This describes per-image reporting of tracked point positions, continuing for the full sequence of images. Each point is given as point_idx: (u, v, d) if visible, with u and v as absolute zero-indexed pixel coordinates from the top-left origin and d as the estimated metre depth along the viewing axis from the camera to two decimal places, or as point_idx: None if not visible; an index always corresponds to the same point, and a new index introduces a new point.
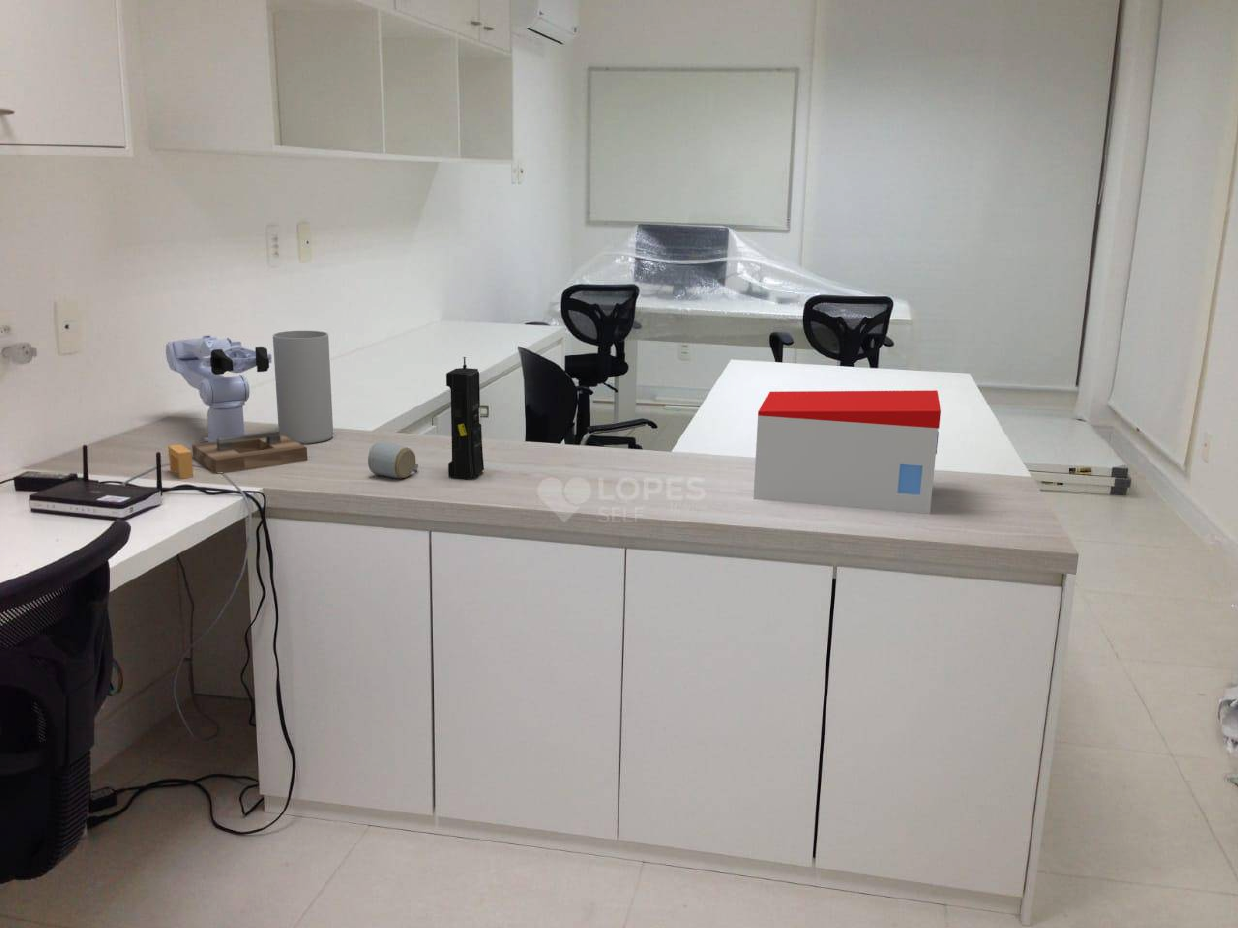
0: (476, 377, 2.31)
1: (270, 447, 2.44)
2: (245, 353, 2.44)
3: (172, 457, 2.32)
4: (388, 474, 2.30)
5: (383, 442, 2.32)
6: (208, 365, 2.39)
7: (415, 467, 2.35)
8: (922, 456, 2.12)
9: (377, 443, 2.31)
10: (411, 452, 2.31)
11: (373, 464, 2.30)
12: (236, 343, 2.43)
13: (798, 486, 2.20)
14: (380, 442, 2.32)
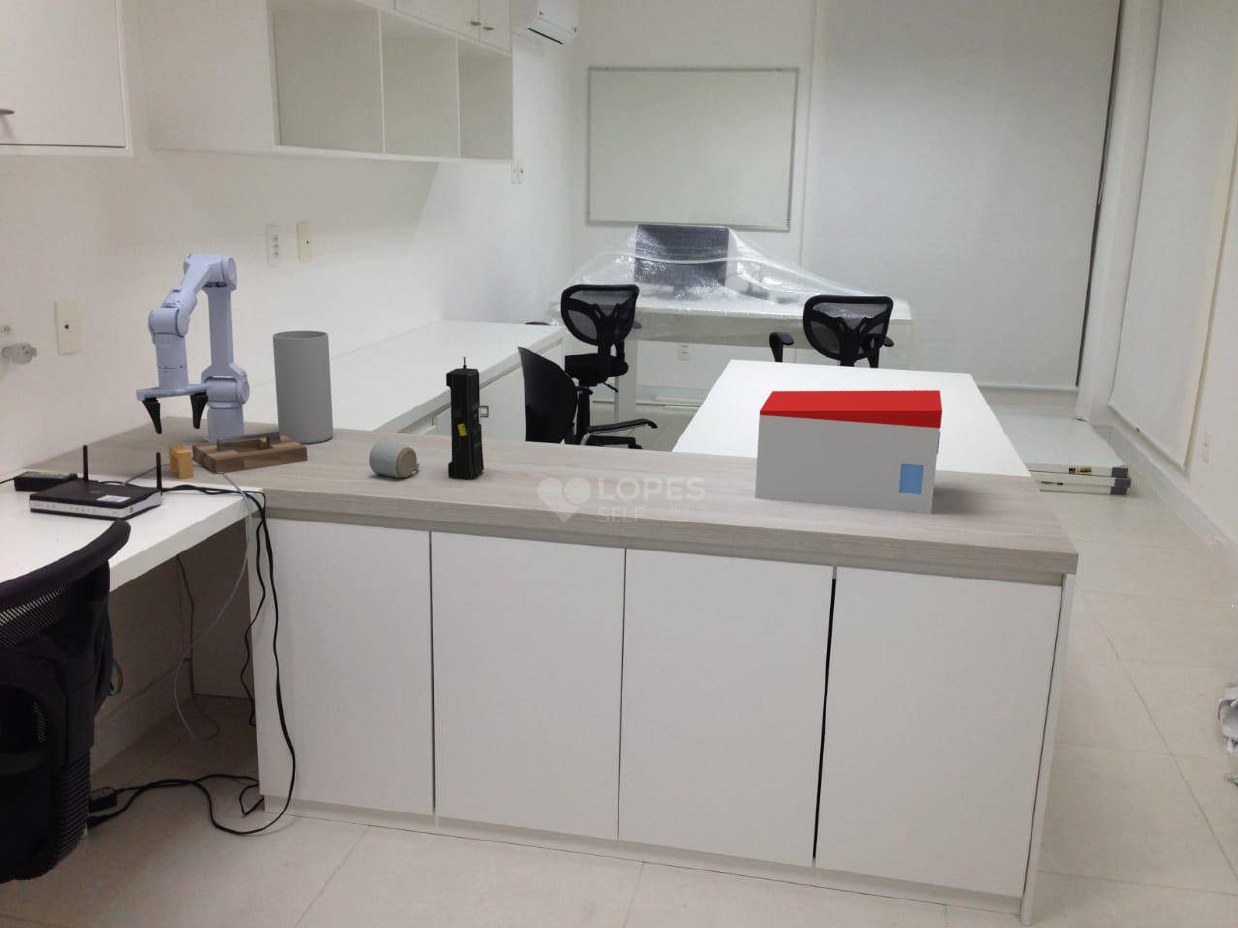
0: (476, 377, 2.31)
1: (270, 447, 2.44)
2: None
3: (172, 457, 2.32)
4: (389, 474, 2.31)
5: (384, 442, 2.32)
6: None
7: (416, 467, 2.35)
8: (923, 456, 2.13)
9: (378, 443, 2.32)
10: (412, 452, 2.32)
11: (374, 464, 2.31)
12: None
13: (799, 486, 2.20)
14: (381, 442, 2.32)
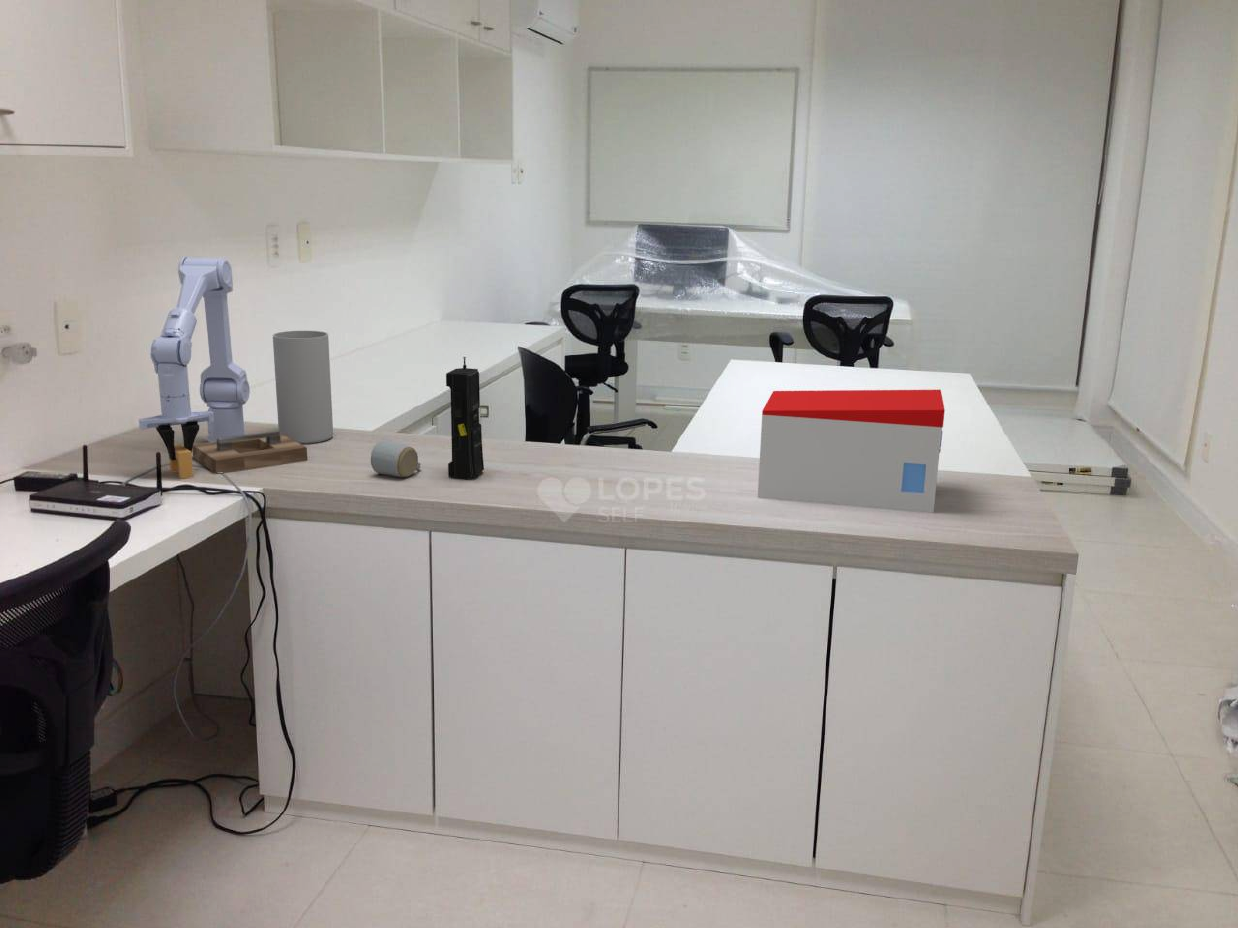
0: (476, 377, 2.31)
1: (270, 447, 2.44)
2: None
3: None
4: (391, 473, 2.31)
5: (386, 441, 2.33)
6: None
7: (418, 466, 2.36)
8: (926, 455, 2.13)
9: (380, 442, 2.32)
10: (414, 451, 2.32)
11: (376, 463, 2.31)
12: None
13: (802, 485, 2.21)
14: (383, 441, 2.33)
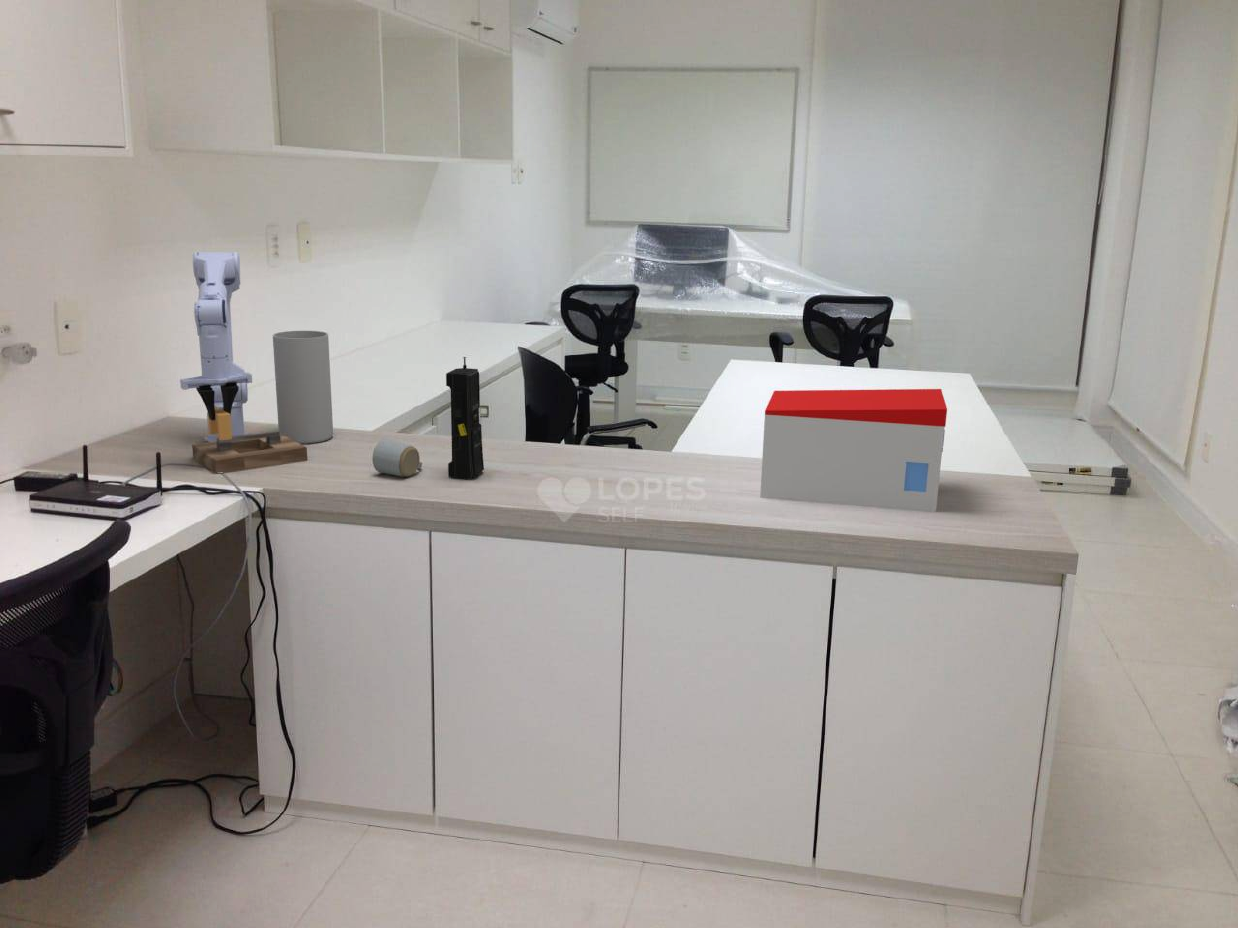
0: (476, 377, 2.31)
1: (270, 447, 2.44)
2: None
3: (211, 420, 2.38)
4: (392, 472, 2.31)
5: (387, 441, 2.33)
6: None
7: (419, 466, 2.36)
8: (928, 454, 2.14)
9: (381, 442, 2.33)
10: (415, 451, 2.32)
11: (377, 463, 2.32)
12: (222, 382, 2.31)
13: (805, 485, 2.21)
14: (384, 441, 2.33)
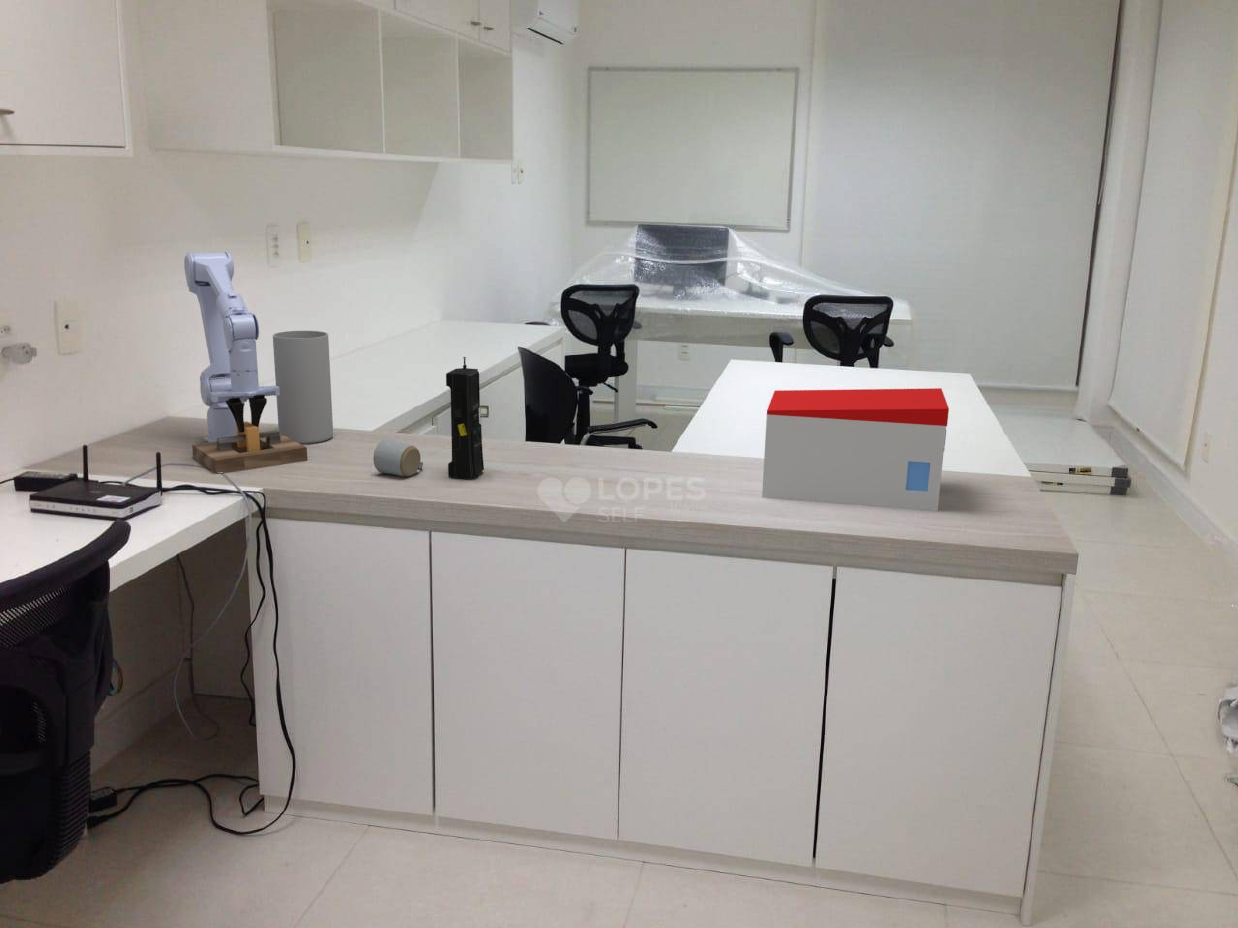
0: (476, 377, 2.31)
1: (270, 447, 2.44)
2: None
3: (239, 433, 2.44)
4: (393, 472, 2.32)
5: (388, 440, 2.33)
6: None
7: (420, 465, 2.37)
8: (930, 453, 2.14)
9: (382, 441, 2.33)
10: (416, 450, 2.33)
11: (378, 462, 2.32)
12: None
13: (806, 485, 2.21)
14: (385, 440, 2.33)
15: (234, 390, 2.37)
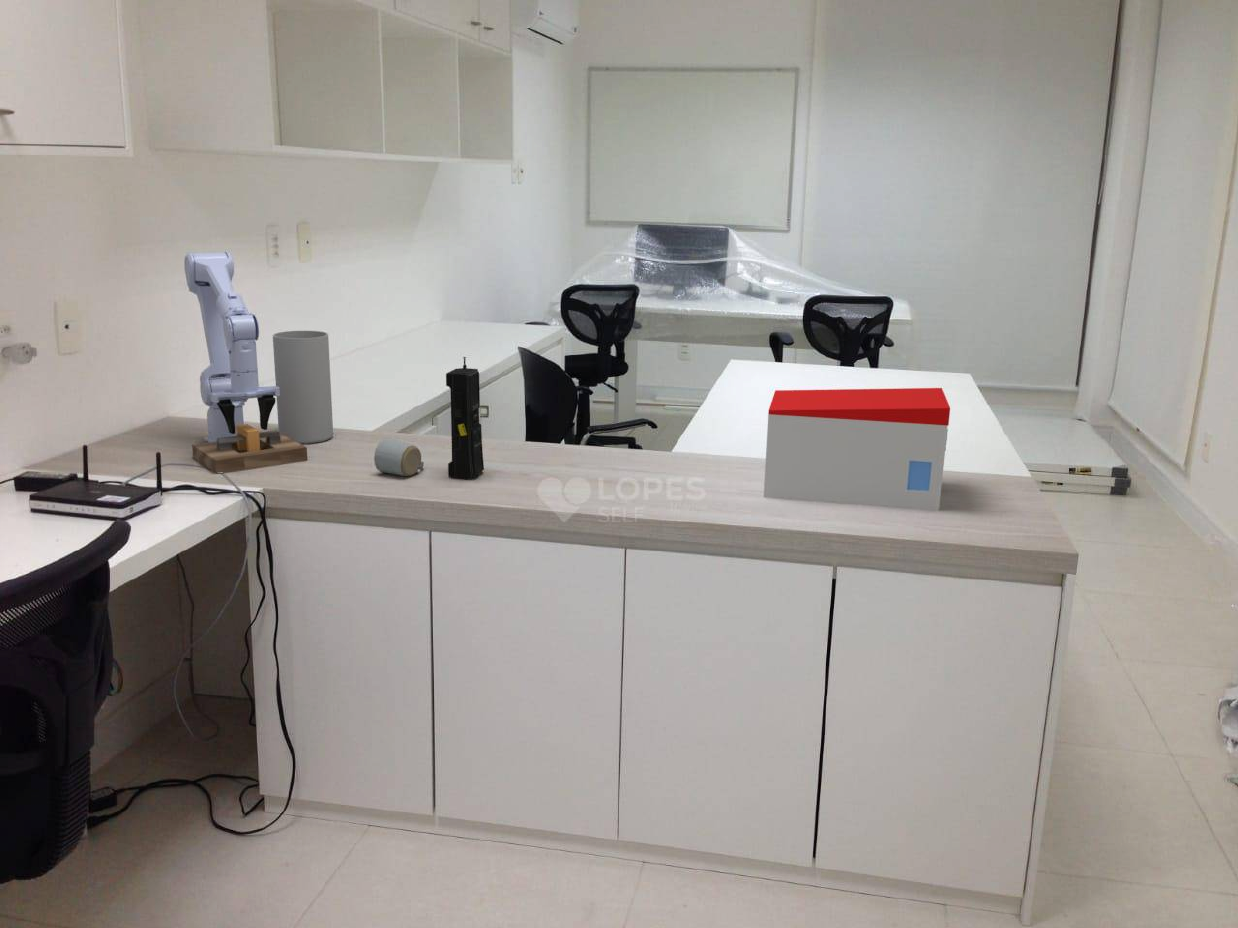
0: (476, 377, 2.31)
1: (270, 447, 2.44)
2: None
3: None
4: (394, 472, 2.32)
5: (389, 440, 2.34)
6: None
7: (421, 465, 2.37)
8: (931, 453, 2.15)
9: (383, 441, 2.33)
10: (417, 450, 2.33)
11: (379, 462, 2.32)
12: (251, 395, 2.37)
13: (808, 484, 2.21)
14: (386, 440, 2.34)
15: (234, 390, 2.38)
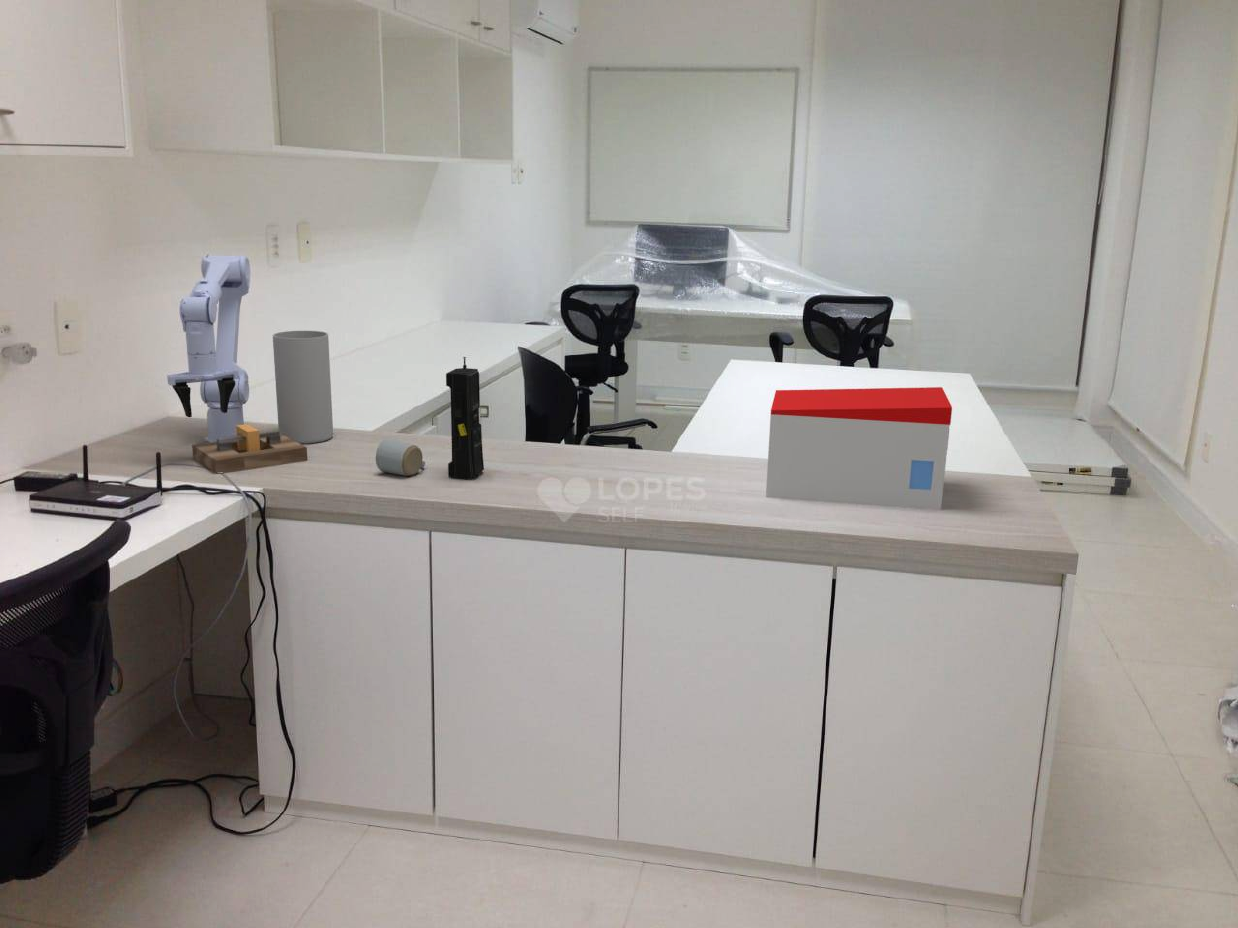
0: (476, 377, 2.31)
1: (270, 447, 2.44)
2: None
3: None
4: (395, 471, 2.32)
5: (390, 440, 2.34)
6: None
7: (422, 465, 2.37)
8: (933, 452, 2.15)
9: (385, 441, 2.34)
10: (418, 450, 2.33)
11: (381, 462, 2.32)
12: None
13: (810, 484, 2.22)
14: (388, 440, 2.34)
15: (191, 373, 2.35)
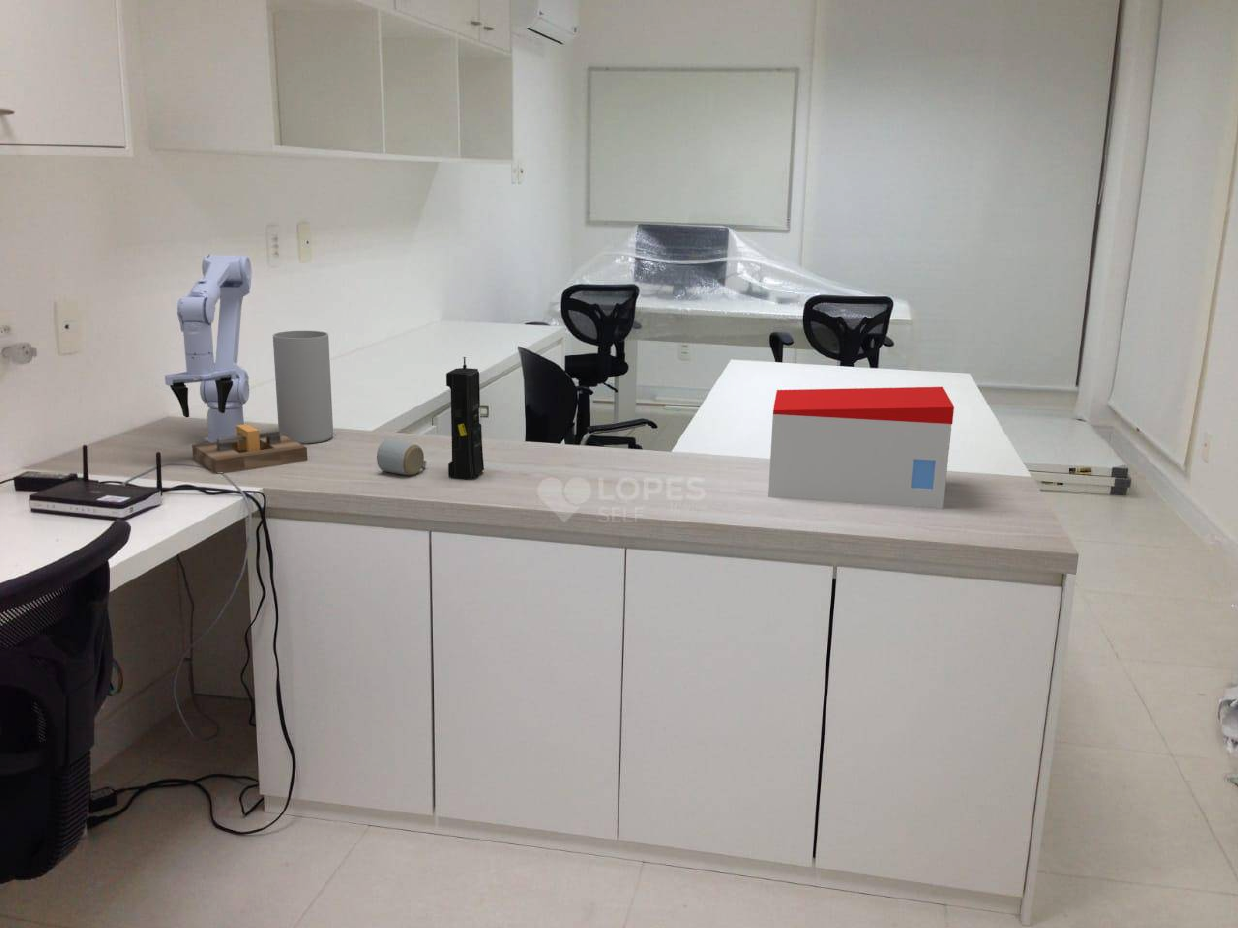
0: (476, 377, 2.31)
1: (270, 447, 2.44)
2: None
3: None
4: (397, 471, 2.33)
5: (392, 439, 2.34)
6: None
7: (423, 464, 2.37)
8: (935, 451, 2.16)
9: (386, 440, 2.34)
10: (419, 449, 2.34)
11: (382, 461, 2.33)
12: None
13: (812, 484, 2.22)
14: (389, 439, 2.34)
15: (189, 373, 2.35)
